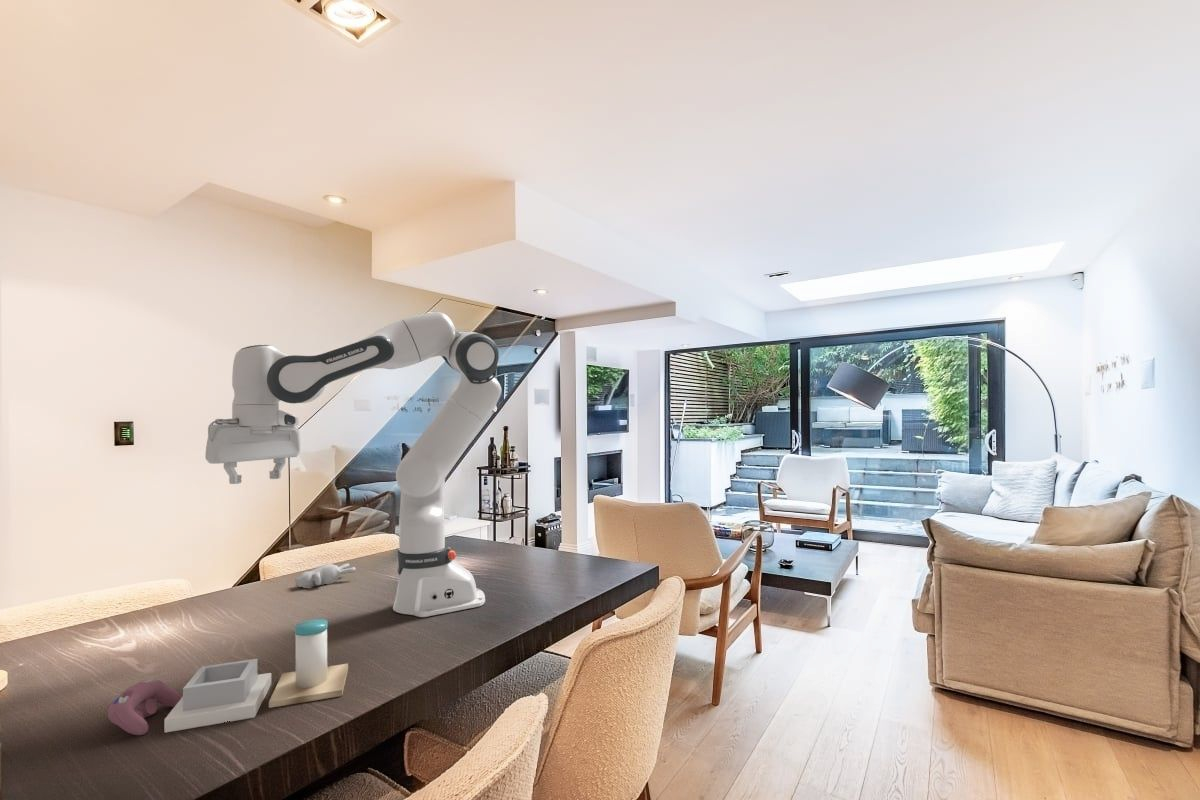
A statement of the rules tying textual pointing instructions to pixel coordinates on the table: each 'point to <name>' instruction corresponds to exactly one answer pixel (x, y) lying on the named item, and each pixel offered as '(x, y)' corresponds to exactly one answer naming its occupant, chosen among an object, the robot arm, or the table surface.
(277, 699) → the pad
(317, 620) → the cylinder
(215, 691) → the housing
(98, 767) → the table surface
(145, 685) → the video game controller
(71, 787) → the table surface
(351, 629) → the table surface
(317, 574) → the bunny figurine
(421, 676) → the table surface
